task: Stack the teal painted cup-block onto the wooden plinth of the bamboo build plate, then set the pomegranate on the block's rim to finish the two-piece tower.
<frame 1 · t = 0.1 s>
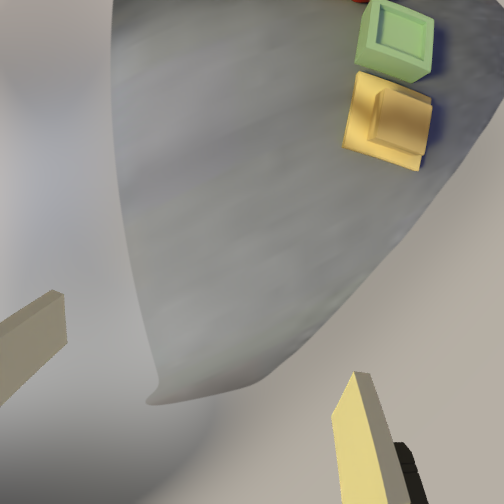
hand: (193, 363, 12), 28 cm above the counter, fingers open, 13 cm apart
build plate: (387, 121, 34), on the counter
cup block: (387, 48, 31), on the counter
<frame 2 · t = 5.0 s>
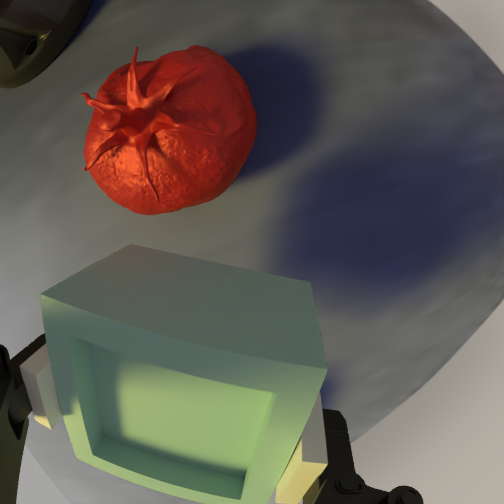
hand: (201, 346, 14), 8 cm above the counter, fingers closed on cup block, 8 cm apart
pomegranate: (185, 136, 20), on the counter
cup block: (204, 342, 14), point 8 cm above the counter, touching gripper
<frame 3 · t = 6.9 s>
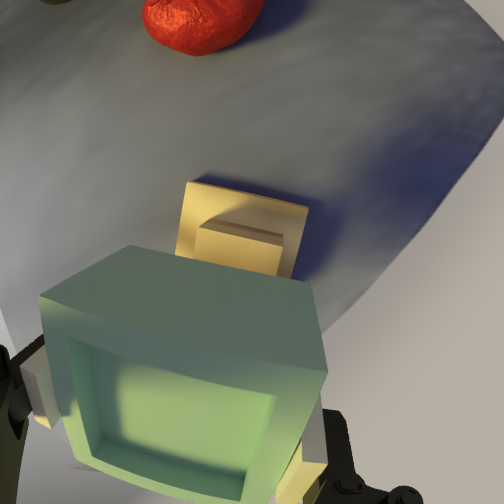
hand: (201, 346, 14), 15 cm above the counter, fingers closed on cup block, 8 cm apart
build plate: (236, 249, 27), on the counter
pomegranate: (210, 18, 22), on the counter
cup block: (204, 343, 14), point 14 cm above the counter, touching gripper
when the fingers open (6 cm above the counter, at t = 8.8 s): cup block stays where it is, resting on build plate.
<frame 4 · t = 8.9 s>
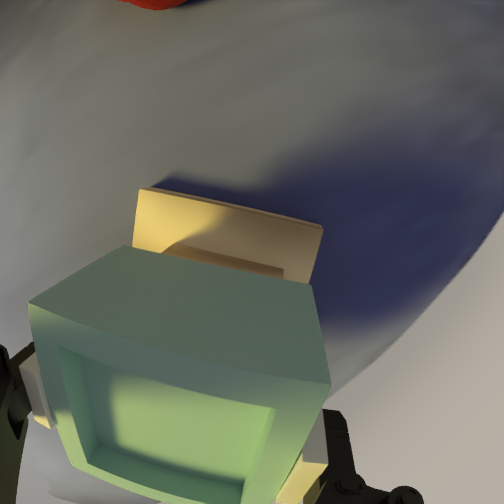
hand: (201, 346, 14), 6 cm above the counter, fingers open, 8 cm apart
build plate: (216, 285, 19), on the counter
cup block: (201, 346, 14), point 5 cm above the counter, touching build plate
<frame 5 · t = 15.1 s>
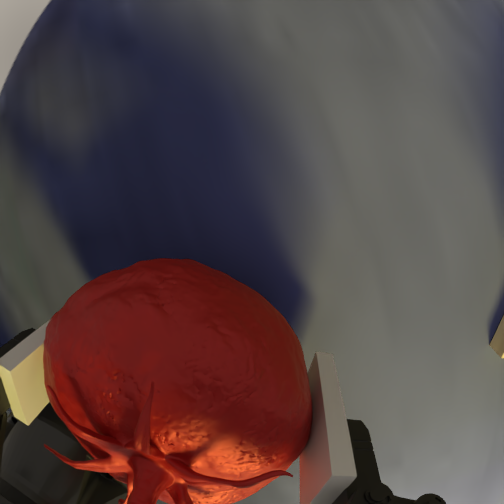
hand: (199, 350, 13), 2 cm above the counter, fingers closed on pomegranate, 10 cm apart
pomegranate: (199, 344, 14), point 2 cm above the counter, touching gripper
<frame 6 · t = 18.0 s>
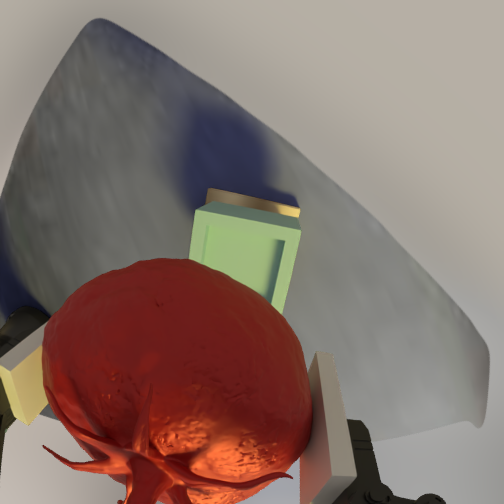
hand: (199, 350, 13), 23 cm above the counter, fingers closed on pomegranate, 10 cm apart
build plate: (245, 240, 36), on the counter
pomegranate: (199, 345, 14), point 23 cm above the counter, touching gripper
cup block: (247, 249, 30), point 5 cm above the counter, touching build plate
when the fingers open (12 cm above the counter, at t = 20.9 s): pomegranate stays where it is, resting on cup block.
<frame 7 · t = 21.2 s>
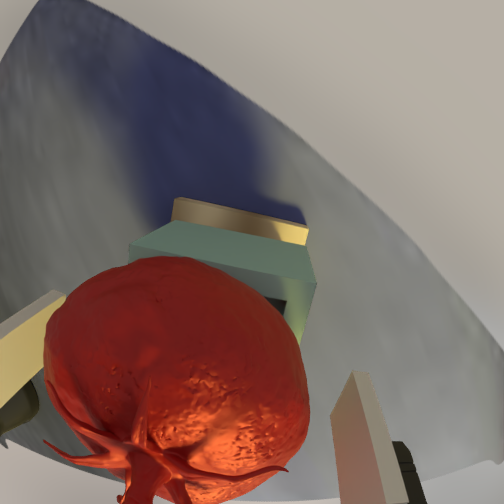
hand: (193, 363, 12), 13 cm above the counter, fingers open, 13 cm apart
build plate: (229, 271, 25), on the counter
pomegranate: (198, 342, 14), point 11 cm above the counter, touching cup block
cup block: (228, 293, 20), point 5 cm above the counter, touching build plate, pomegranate
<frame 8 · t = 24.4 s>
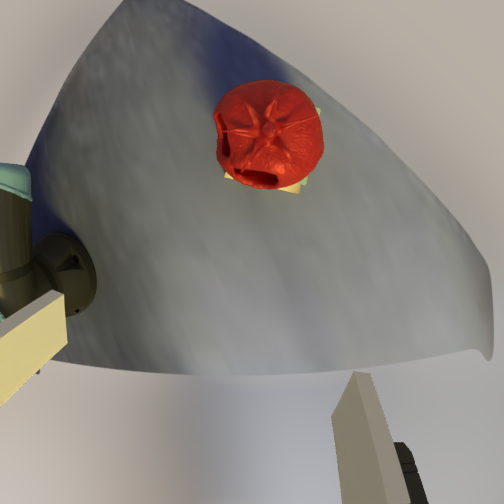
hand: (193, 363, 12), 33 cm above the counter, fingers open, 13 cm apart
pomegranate: (269, 138, 30), point 11 cm above the counter, touching cup block
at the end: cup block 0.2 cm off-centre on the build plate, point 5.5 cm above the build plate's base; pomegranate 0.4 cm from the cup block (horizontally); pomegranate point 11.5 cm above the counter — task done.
